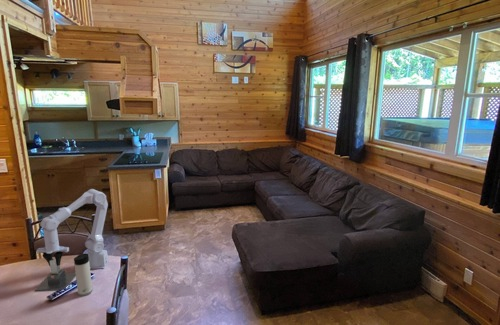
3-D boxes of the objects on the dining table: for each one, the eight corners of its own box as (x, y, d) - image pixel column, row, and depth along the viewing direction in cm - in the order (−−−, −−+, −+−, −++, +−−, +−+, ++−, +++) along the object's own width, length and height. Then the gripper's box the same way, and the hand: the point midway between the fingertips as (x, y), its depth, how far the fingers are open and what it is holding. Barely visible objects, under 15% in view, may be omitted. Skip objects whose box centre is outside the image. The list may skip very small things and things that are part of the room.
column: (61, 273, 158) (58, 257, 156) (58, 277, 155) (55, 260, 153) (54, 274, 158) (52, 257, 156) (51, 277, 155) (49, 260, 153)
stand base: (77, 273, 165) (76, 264, 164) (65, 289, 151) (63, 279, 150) (50, 274, 163) (48, 265, 162) (35, 291, 150) (33, 281, 149)
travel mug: (86, 297, 146) (82, 259, 142) (75, 295, 147) (70, 258, 143) (95, 289, 152) (91, 253, 148) (84, 287, 153) (80, 251, 149)
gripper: (31, 244, 148) (35, 269, 151) (62, 243, 149) (66, 268, 152) (39, 238, 155) (43, 262, 158) (69, 237, 156) (72, 261, 159)
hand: (54, 264), depth 155 cm, fingers closed on column, 3 cm apart
